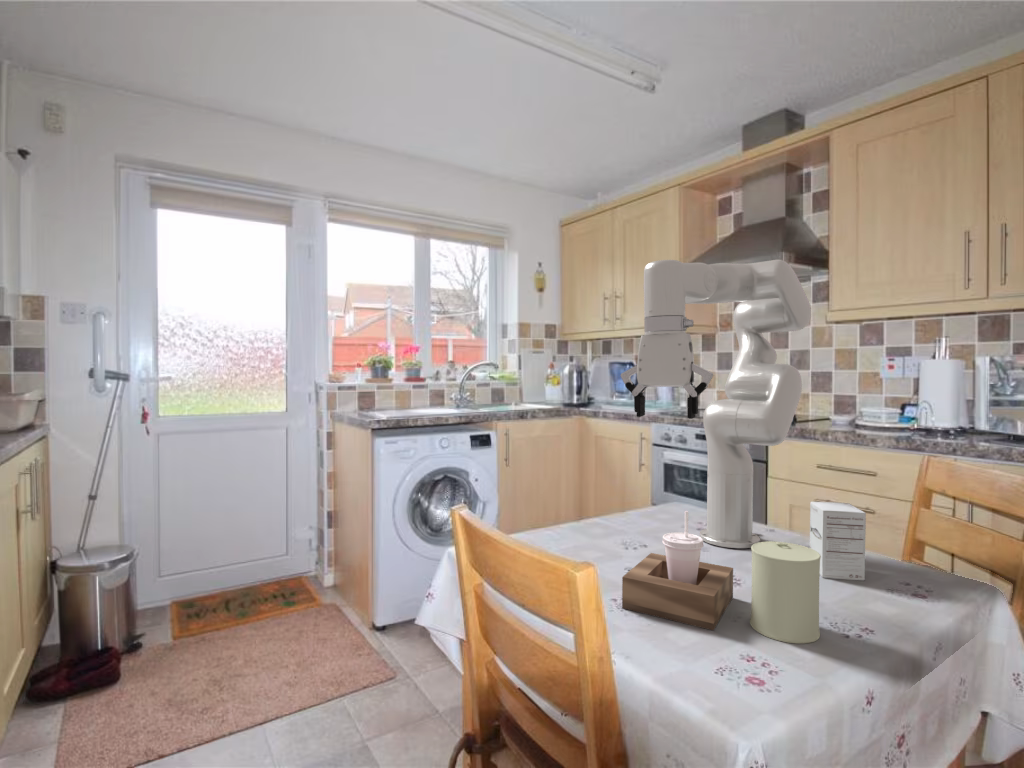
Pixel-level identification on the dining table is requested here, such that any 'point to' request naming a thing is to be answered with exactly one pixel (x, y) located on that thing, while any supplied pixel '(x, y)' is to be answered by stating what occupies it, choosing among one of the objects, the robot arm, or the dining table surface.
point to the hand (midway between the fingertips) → (665, 417)
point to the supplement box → (838, 539)
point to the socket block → (678, 592)
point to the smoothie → (683, 555)
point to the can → (785, 592)
